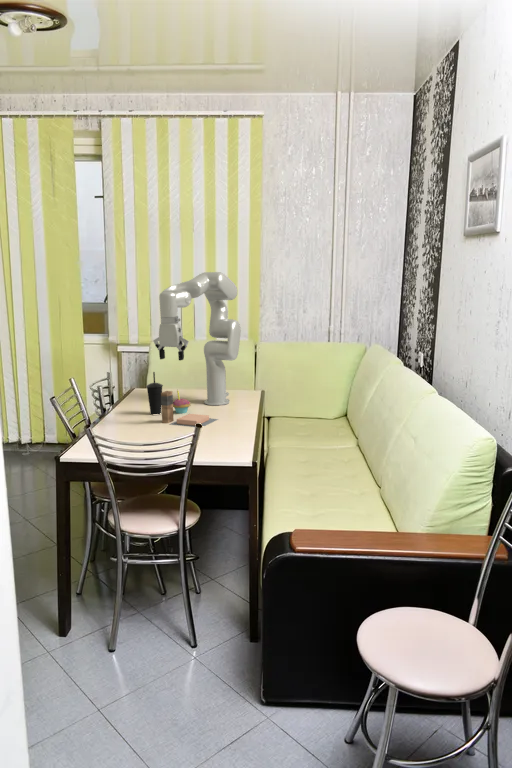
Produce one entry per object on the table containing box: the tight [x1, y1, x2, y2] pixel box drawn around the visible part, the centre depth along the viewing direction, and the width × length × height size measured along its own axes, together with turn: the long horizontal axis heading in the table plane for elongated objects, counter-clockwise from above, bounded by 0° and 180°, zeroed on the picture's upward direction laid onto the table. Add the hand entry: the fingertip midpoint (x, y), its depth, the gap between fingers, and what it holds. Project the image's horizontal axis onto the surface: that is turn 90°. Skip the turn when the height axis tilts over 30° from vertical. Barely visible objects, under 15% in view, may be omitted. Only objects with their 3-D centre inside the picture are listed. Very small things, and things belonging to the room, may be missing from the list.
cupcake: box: [173, 389, 191, 414], centre depth 291 cm, size 9×8×12 cm
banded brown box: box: [161, 390, 175, 424], centre depth 273 cm, size 5×3×14 cm
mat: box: [168, 417, 219, 428], centre depth 274 cm, size 16×16×1 cm
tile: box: [176, 413, 210, 426], centre depth 273 cm, size 2×10×11 cm
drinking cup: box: [145, 371, 164, 415], centre depth 291 cm, size 8×8×20 cm
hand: (171, 359), depth 274 cm, fingers open, 9 cm apart
